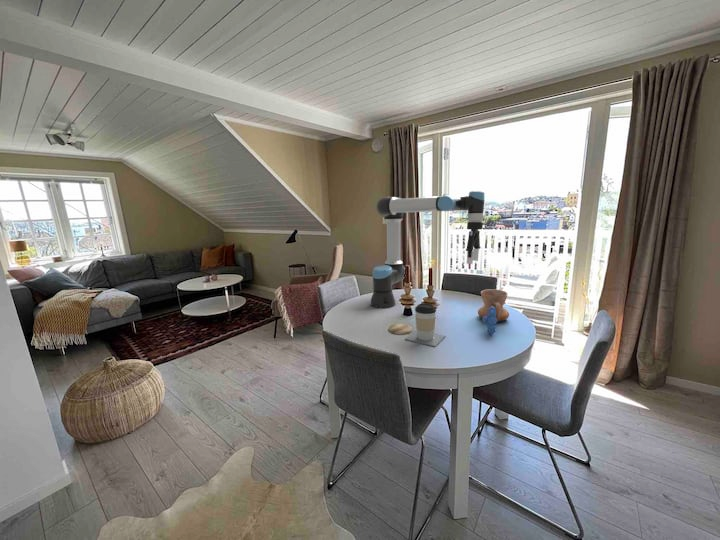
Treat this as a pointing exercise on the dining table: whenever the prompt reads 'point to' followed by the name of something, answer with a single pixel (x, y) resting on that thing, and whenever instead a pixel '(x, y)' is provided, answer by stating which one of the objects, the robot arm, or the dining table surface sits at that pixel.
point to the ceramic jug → (494, 303)
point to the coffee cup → (425, 321)
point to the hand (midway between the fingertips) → (472, 262)
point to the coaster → (400, 329)
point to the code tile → (434, 342)
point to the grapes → (490, 320)
